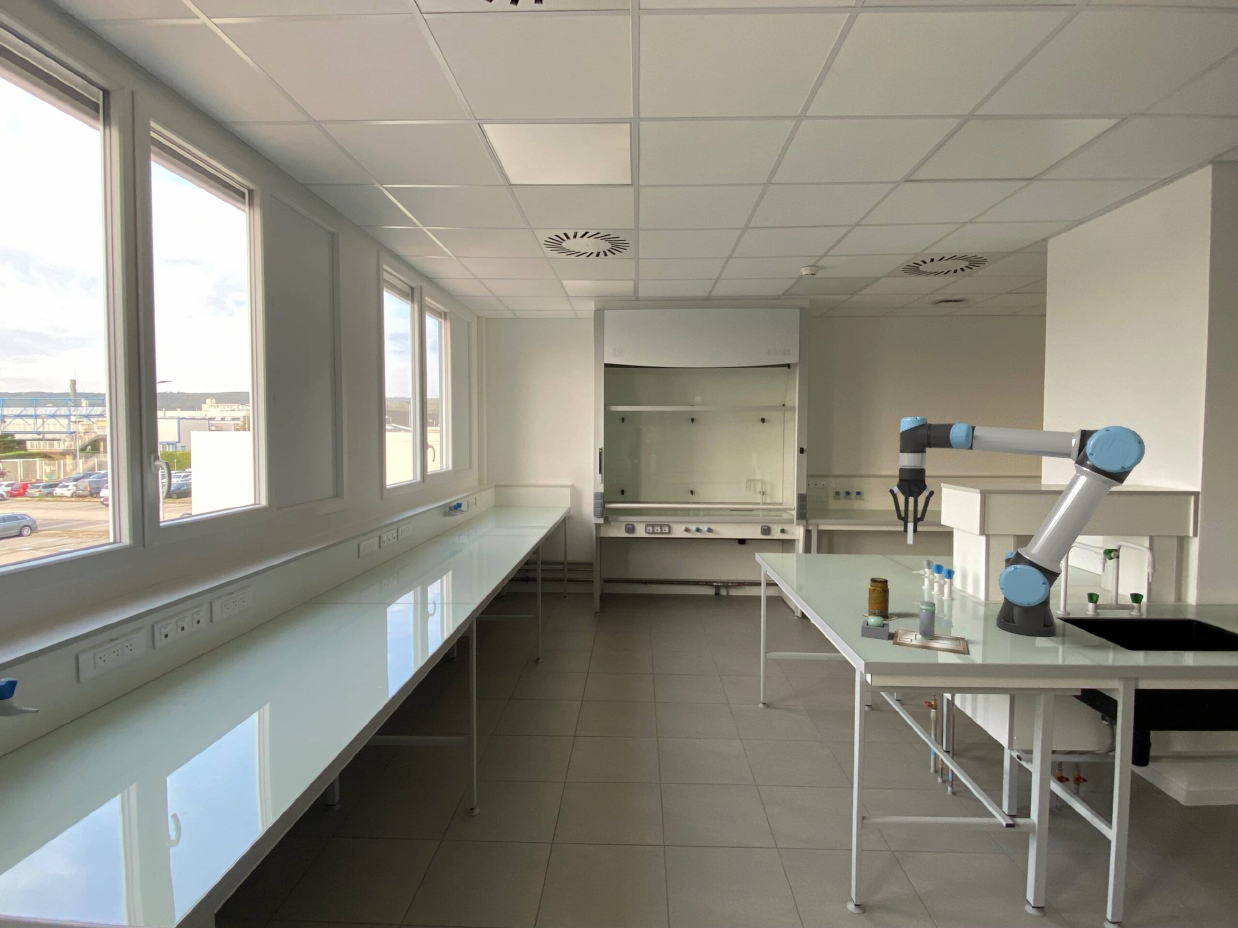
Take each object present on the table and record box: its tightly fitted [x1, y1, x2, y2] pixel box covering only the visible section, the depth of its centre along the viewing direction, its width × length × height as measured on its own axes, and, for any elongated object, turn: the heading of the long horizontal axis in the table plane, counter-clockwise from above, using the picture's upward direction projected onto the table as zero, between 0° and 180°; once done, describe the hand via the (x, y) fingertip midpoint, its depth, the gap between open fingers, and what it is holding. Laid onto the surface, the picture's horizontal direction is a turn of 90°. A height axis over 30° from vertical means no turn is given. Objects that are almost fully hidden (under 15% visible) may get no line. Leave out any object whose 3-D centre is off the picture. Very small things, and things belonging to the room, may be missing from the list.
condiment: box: [863, 577, 899, 621], centre depth 203 cm, size 7×8×12 cm
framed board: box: [892, 628, 968, 656], centre depth 177 cm, size 18×14×1 cm
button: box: [867, 616, 884, 628], centre depth 183 cm, size 4×4×3 cm
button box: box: [860, 619, 890, 641], centre depth 183 cm, size 7×7×3 cm
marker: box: [918, 600, 936, 640], centre depth 178 cm, size 4×4×10 cm
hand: (910, 543), depth 197 cm, fingers closed
